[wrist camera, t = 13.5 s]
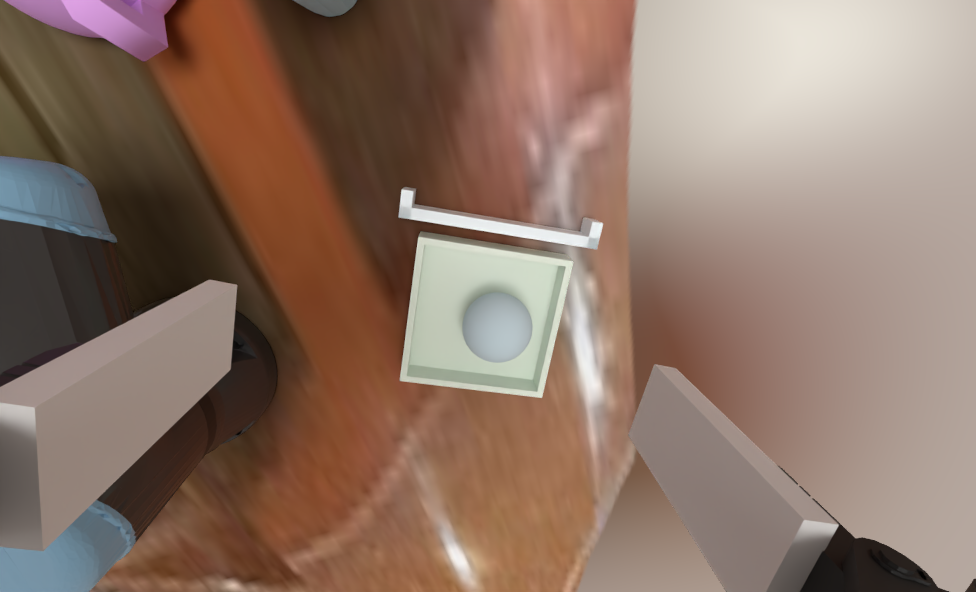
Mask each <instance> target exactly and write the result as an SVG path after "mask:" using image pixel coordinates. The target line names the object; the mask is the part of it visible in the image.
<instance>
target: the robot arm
mask: <svg viewBox="0 0 976 592" xmlns="http://www.w3.org/2000/svg"><path fill="white" fill-rule="evenodd" d="M115 243H117V238H116V237H115V235H114V234H112V233H111V232H110V229H109V227H108V224H107V221H106V219H105V216H104V213H103V210H102V207H101V204H100V201H99V198H98V195H97V193H96V190H95V188H94V187H93V185H92V184H91V182H90V181H89V180H88V179H87V178H86V177H85V176H83V175H82V174H81V173H79V172H78V171H76V170H74V169H72V168H70V167H67V166H65V165H62V164H58V163H54V162H48V161H41V160H33V159H25V158H17V157H7V156H0V592H89V591H90V590H91V589H92V588H93V587H94V586H95V585H96V584H97V583H98V582H99V580H100V579H101V578H102V577H103V576H104V575H105V574H106V573H107V572H108V571H109V570H110V568H111V567H112V566H113V565H114V564H115V563H116V562H117V561H119V560H120V559H122V558H123V557H124V556H125V555H126V554H127V553H129V552H130V550H131V549H132V547H133V546H134V544H135V542H136V541H137V540H138V539H139V537H140V536H141V535H142V534H143V532H144V531H145V530H146V529H147V527H148V526H149V525H150V524H151V522H152V521H153V520H154V518H155V517H156V516H157V515H158V513H159V512H160V511H161V510H162V508H163V507H164V506H165V505H166V503H167V502H168V501H169V500H170V498H171V497H172V496H173V495H174V493H175V492H176V491H177V490H178V488H179V487H180V486H181V485H182V483H183V482H184V481H185V479H186V478H187V477H188V476H189V474H190V473H191V472H192V471H193V469H194V468H195V467H196V466H197V464H198V463H199V462H200V461H201V459H202V458H203V457H204V456H205V455H206V454H207V453H209V452H211V451H213V450H214V449H216V448H217V447H218V446H219V445H220V444H223V443H226V442H228V441H231V440H233V439H235V438H236V437H238V436H240V435H241V434H243V433H244V432H246V431H247V430H248V429H249V428H250V427H251V426H252V425H253V424H255V422H256V421H257V420H258V419H259V418H260V416H261V415H262V414H263V412H264V411H265V409H266V408H267V407H268V405H269V404H270V402H271V400H272V398H273V395H274V392H275V389H276V384H277V368H276V362H275V358H274V355H273V353H272V350H271V348H270V346H269V344H268V342H267V341H266V339H265V338H264V336H263V335H262V333H261V332H260V331H259V330H258V329H257V328H256V327H255V326H254V325H253V324H252V323H251V322H250V321H249V320H248V319H247V318H245V317H244V316H243V315H241V314H240V313H238V312H237V311H235V308H236V295H237V285H235V284H230V283H225V282H220V281H214V280H207V281H206V282H204V283H202V284H200V285H198V286H196V287H194V288H192V289H190V290H188V291H186V292H184V293H182V294H180V295H178V296H176V297H171V298H166V299H162V300H159V301H156V302H153V303H151V304H149V305H147V306H145V307H143V308H141V309H139V310H137V311H135V312H132V308H131V304H130V300H129V296H128V293H127V289H126V285H125V281H124V277H123V274H122V270H121V266H120V262H119V258H118V255H117V251H116V247H115ZM628 436H629V437H630V439H631V440H632V442H633V444H634V445H635V447H636V448H637V450H638V452H639V453H640V455H641V456H642V458H643V459H644V461H645V463H646V464H647V466H648V468H649V469H650V471H651V472H652V474H653V476H654V477H655V479H656V480H657V482H658V484H659V485H660V487H661V488H662V490H663V491H664V493H665V495H666V496H667V498H668V499H669V501H670V503H671V504H672V506H673V508H674V509H675V511H676V512H677V514H678V515H679V517H680V519H681V520H682V522H683V523H684V525H685V527H686V528H687V530H688V532H689V533H690V535H691V536H692V538H693V539H694V541H695V543H696V544H697V546H698V547H699V549H700V551H701V552H702V554H703V555H704V557H705V559H706V560H707V562H708V563H709V565H710V567H711V568H712V570H713V571H714V573H715V575H716V576H717V578H718V579H719V581H720V583H721V584H722V586H723V587H724V589H725V591H726V592H949V591H946V590H943V589H940V588H938V587H937V586H936V584H935V583H934V581H933V580H932V578H931V577H930V576H929V575H928V574H927V573H926V572H925V571H924V570H922V569H921V568H920V567H919V566H918V565H917V564H915V563H914V562H913V561H911V560H910V559H908V558H907V557H906V556H904V555H903V554H901V553H899V552H897V551H896V550H894V549H892V548H890V547H889V546H887V545H884V544H882V543H879V542H877V541H875V540H871V539H866V538H857V539H856V538H854V537H853V536H852V535H851V534H850V533H849V532H848V531H847V530H846V529H845V528H844V527H843V526H842V525H841V524H840V523H839V522H838V521H837V520H836V519H835V518H834V517H832V516H831V515H830V514H829V513H828V512H827V511H826V510H825V509H824V508H823V507H822V506H821V505H820V504H819V503H818V502H817V501H815V499H812V498H811V497H810V495H809V494H808V493H807V492H806V491H805V490H804V489H803V488H802V487H801V486H798V485H797V484H798V483H797V482H796V481H795V480H794V479H793V478H792V477H790V476H789V475H788V474H787V473H786V472H785V471H784V470H783V469H782V468H780V467H779V466H777V465H776V464H775V463H774V462H773V461H772V460H771V459H770V458H769V457H768V456H767V455H766V454H764V452H762V451H761V450H760V449H759V448H758V447H757V446H756V445H755V444H754V443H753V442H752V441H751V440H750V439H749V438H748V437H747V436H746V435H745V434H744V433H742V432H741V431H740V429H738V428H737V427H736V426H735V425H734V424H733V423H732V422H731V421H730V420H729V419H728V418H727V417H726V416H725V415H724V414H723V413H722V412H721V411H720V410H719V409H718V408H717V407H715V406H714V405H713V404H712V403H711V402H710V401H709V400H708V399H707V398H706V397H705V396H704V395H703V394H702V393H701V392H700V391H699V390H698V389H697V388H696V387H695V386H694V385H693V384H692V383H690V382H689V381H688V380H687V379H686V378H685V377H684V376H683V375H682V374H681V373H680V372H679V371H678V370H677V369H676V368H671V367H666V366H660V365H656V364H655V365H654V367H653V370H652V372H651V375H650V378H649V381H648V383H647V386H646V389H645V391H644V394H643V397H642V399H641V402H640V405H639V408H638V410H637V413H636V416H635V418H634V421H633V424H632V426H631V429H630V432H629V435H628ZM965 592H976V579H974V580H973V581H972V583H971V584H970V586H969V587H968V589H967V590H966V591H965Z"/></svg>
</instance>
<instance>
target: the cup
mask: <svg viewBox="0 0 976 592" xmlns="http://www.w3.org/2000/svg"><path fill="white" fill-rule="evenodd" d="M293 1H295V2H297V3H298V4H300V5H302V6H303V7H305V8H307V9H309V10H310V11H312V12H314V13H317V14H320V15H323V16H327V17H332V16H338V15H342V14H344V13H346V12H347V11H348V10H350V9H351V8H352V7H353V6H354V5H355V3H356V1H357V0H293Z"/></svg>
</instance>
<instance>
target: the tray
mask: <svg viewBox="0 0 976 592" xmlns="http://www.w3.org/2000/svg"><path fill="white" fill-rule="evenodd" d="M573 262H574V261H573V260H572V259H571V258H569V257H568V256H567V255H566V254H561V253H555V252H549V251H543V250H536V249H530V248H524V247H517V246H511V245H505V244H499V243H492V242H486V241H480V240H473V239H467V238H461V237H455V236H448V235H442V234H436V233H429V232H423V231H421V232H420V234H419V236H418V243H417V251H416V258H415V266H414V274H413V282H412V289H411V297H410V305H409V312H408V320H407V328H406V336H405V343H404V351H403V359H402V367H401V374H400V381H404V382H413V383H421V384H430V385H438V386H446V387H455V388H463V389H472V390H480V391H489V392H497V393H505V394H514V395H522V396H531V397H539V398H542V395H543V391H544V387H545V382H546V378H547V374H548V369H549V365H550V361H551V357H552V352H553V348H554V344H555V339H556V335H557V331H558V327H559V322H560V318H561V314H562V309H563V305H564V301H565V296H566V292H567V288H568V284H569V279H570V275H571V271H572V266H573ZM494 292H500V293H506V294H510V295H512V296H514V297H516V298H517V299H519V300H520V301H521V302H522V303H523V304H524V305H525V306H526V308H527V309H528V311H529V313H530V316H531V319H532V326H533V328H532V336H531V339H530V342H529V344H528V346H527V347H526V349H525V350H524V351H523V352H522V353H521V354H520V355H519V356H517V357H516V358H514V359H512V360H510V361H506V362H501V363H494V362H489V361H485V360H483V359H481V358H479V357H478V356H476V355H475V354H474V353H473V352H472V351H471V350H470V349H469V347H468V346H467V344H466V342H465V340H464V337H463V331H462V324H463V319H464V315H465V313H466V311H467V309H468V308H469V306H470V305H471V304H472V303H473V302H474V301H475V300H476V299H477V298H479V297H481V296H483V295H485V294H489V293H494Z"/></svg>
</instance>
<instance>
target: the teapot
mask: <svg viewBox="0 0 976 592" xmlns="http://www.w3.org/2000/svg"><path fill="white" fill-rule="evenodd" d="M4 1H6V2H7V3H9V4H10V5H12V6H14V7H15V8H17V9H19V10H20V11H22V12H24V13H26V14H27V15H29V16H31V17H33V18H35V19H37V20H39V21H41V22H43V23H46V24H48V25H50V26H52V27H55V28H58V29H61V30H64V31H67V32H70V33H73V34H76V35H81V36H86V37H94V38H105V39H106V40H108V41H110V42H111V43H113V44H115V45H116V46H118V47H120V48H121V49H123V50H125V51H126V52H128V53H130V54H131V55H133V56H135V57H136V58H138V59H140V60H141V61H143V62H145V61H146V60H148V59H150V58H151V57H153V56H155V55H156V54H158V53H160V52H161V51H163V50H165V49H166V48H168V42H167V35H166V27H165V20H164V15H165V14H166V13H167V12H168V11H169V10H170V9H171V7H172V6H173V5H174V4H175V2H176V1H177V0H4Z"/></svg>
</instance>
